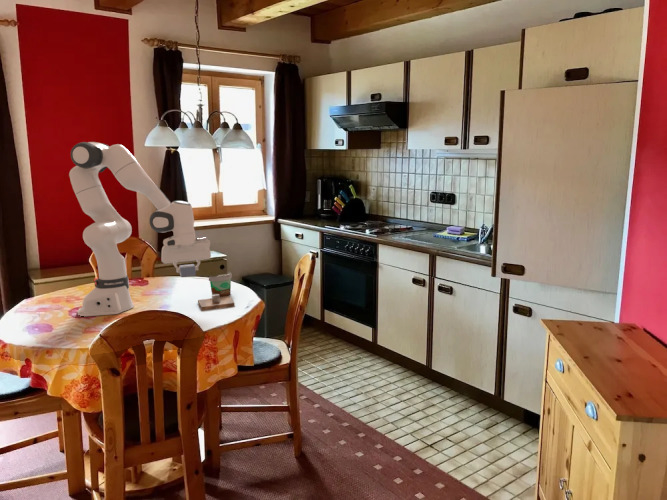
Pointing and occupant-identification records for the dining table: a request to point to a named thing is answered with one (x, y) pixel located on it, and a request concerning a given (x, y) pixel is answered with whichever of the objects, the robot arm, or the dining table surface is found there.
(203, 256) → the robot arm
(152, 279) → the dining table surface
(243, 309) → the dining table surface
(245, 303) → the dining table surface
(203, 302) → the board
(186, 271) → the grey drawer unit
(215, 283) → the food container
